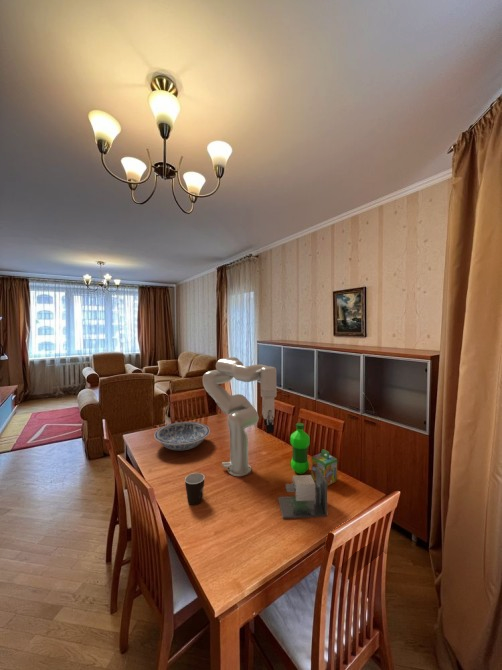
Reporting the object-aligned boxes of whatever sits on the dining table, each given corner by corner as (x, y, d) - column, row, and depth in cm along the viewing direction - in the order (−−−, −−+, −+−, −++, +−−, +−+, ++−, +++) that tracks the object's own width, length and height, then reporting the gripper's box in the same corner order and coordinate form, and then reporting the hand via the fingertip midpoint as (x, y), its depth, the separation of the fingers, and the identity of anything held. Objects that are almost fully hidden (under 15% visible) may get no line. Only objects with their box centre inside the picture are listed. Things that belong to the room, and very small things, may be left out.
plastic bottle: (309, 466, 146) (309, 421, 145) (309, 477, 135) (309, 428, 134) (291, 464, 148) (290, 420, 147) (289, 475, 138) (289, 427, 137)
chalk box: (310, 479, 134) (310, 450, 134) (322, 473, 140) (322, 445, 139) (325, 488, 127) (325, 457, 126) (337, 481, 132) (337, 452, 131)
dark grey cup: (195, 509, 113) (195, 486, 112) (181, 502, 117) (180, 480, 117) (213, 494, 123) (213, 473, 122) (199, 488, 127) (199, 467, 127)
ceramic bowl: (182, 465, 148) (181, 447, 148) (142, 450, 166) (142, 434, 166) (220, 442, 178) (220, 427, 177) (183, 431, 196) (183, 418, 195)
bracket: (282, 518, 107) (282, 484, 106) (278, 499, 119) (278, 468, 118) (327, 516, 108) (327, 482, 107) (318, 497, 120) (318, 466, 119)
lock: (295, 501, 110) (295, 484, 110) (292, 491, 116) (292, 475, 116) (315, 500, 110) (315, 483, 110) (310, 490, 117) (310, 474, 117)
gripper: (259, 388, 134) (259, 422, 135) (262, 398, 117) (262, 436, 118) (273, 388, 135) (274, 422, 135) (279, 397, 118) (279, 436, 118)
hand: (268, 428), depth 127 cm, fingers open, 9 cm apart
